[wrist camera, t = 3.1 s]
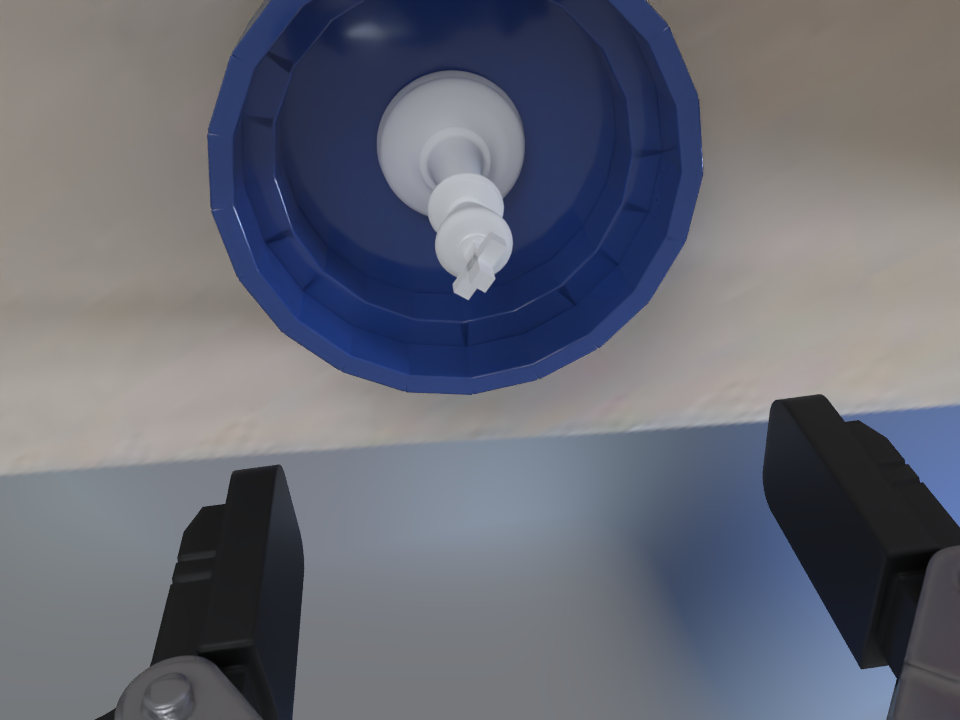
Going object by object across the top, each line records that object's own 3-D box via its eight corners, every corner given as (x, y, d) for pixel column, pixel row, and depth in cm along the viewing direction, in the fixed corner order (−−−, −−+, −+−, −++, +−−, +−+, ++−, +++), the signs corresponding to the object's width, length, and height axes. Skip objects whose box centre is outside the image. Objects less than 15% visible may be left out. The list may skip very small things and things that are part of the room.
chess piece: (349, 168, 30) (340, 313, 21) (428, 39, 28) (452, 141, 19) (471, 238, 31) (508, 398, 23) (553, 122, 29) (626, 249, 21)
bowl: (741, 25, 29) (797, 59, 25) (543, 374, 35) (564, 442, 31) (316, -193, 24) (306, -192, 21) (178, 250, 31) (151, 312, 27)
